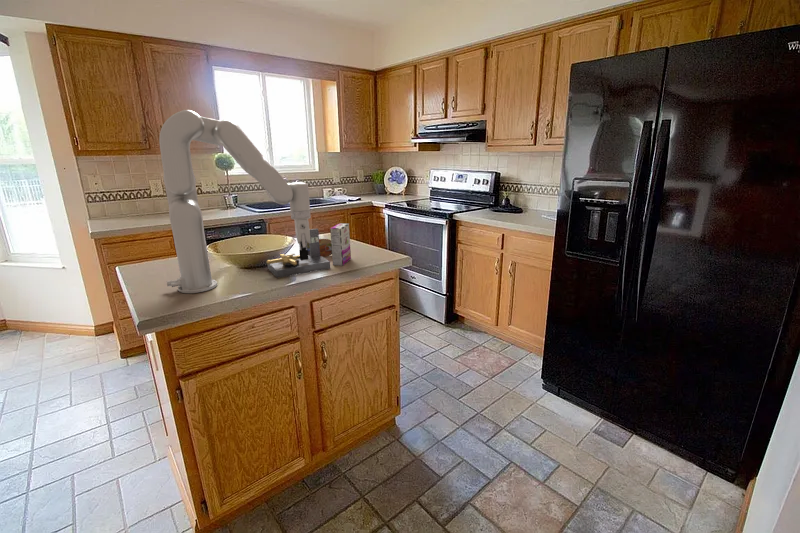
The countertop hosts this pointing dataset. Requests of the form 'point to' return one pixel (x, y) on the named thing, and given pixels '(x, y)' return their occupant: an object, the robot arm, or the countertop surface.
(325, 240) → the tin
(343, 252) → the candy bar box
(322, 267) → the stand
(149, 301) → the countertop surface
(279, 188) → the robot arm
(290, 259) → the capstan
